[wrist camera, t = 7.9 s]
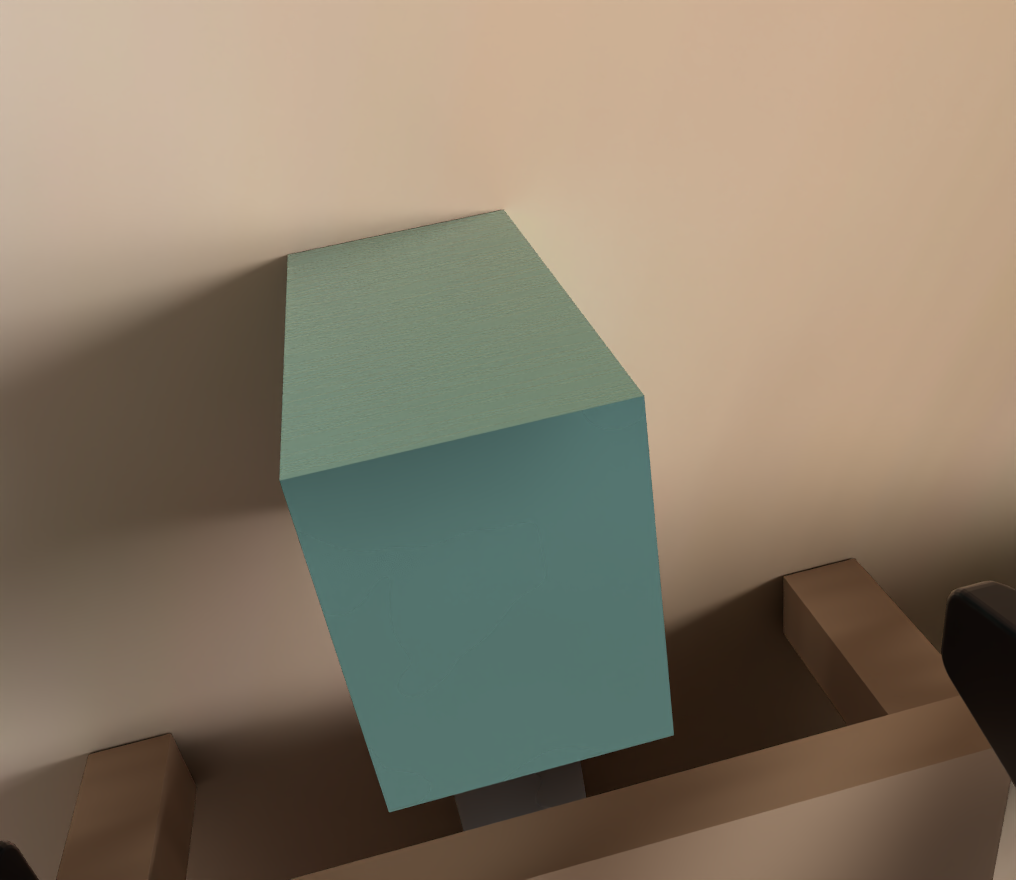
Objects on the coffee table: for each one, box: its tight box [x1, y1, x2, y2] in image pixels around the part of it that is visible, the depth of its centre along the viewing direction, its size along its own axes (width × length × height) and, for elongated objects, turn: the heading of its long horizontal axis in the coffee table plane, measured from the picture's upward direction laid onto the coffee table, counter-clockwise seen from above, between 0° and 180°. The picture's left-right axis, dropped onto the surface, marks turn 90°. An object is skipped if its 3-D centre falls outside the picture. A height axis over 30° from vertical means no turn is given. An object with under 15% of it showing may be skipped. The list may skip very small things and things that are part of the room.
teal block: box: [279, 210, 674, 831], centre depth 14 cm, size 5×16×6 cm, turn 9°
